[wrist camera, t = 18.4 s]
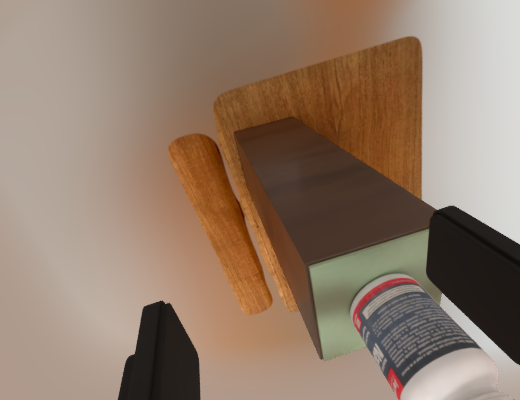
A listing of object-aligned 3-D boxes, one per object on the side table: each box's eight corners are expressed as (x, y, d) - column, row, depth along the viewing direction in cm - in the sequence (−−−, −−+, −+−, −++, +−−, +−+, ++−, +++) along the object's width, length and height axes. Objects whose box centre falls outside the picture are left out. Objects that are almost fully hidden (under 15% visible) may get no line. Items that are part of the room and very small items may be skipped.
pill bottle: (334, 305, 20) (428, 469, 12) (398, 257, 19) (542, 400, 11) (368, 337, 22) (465, 490, 14) (427, 296, 21) (560, 435, 14)
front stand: (233, 132, 47) (306, 267, 18) (293, 116, 48) (455, 221, 19) (247, 187, 51) (322, 364, 22) (300, 171, 52) (439, 323, 23)
